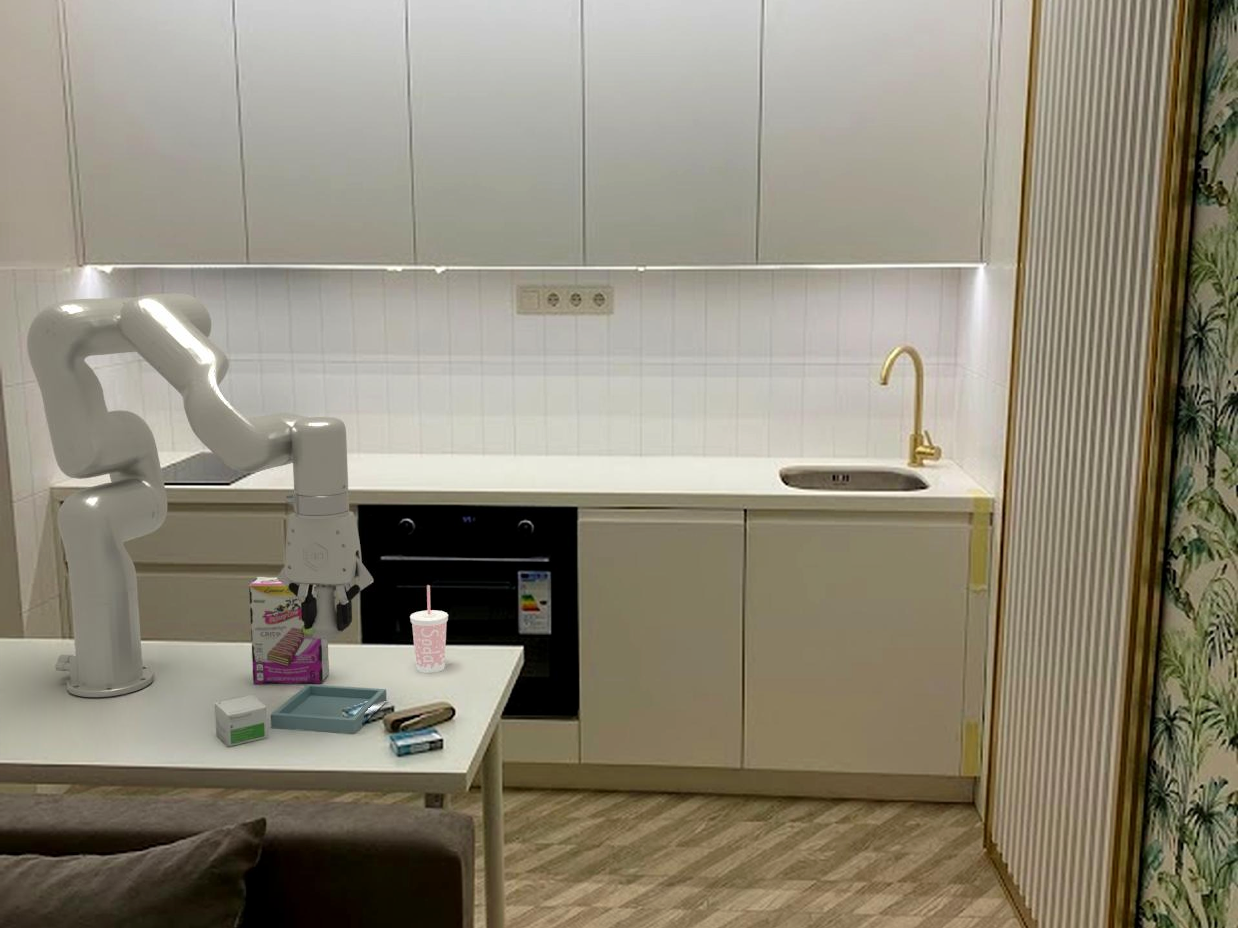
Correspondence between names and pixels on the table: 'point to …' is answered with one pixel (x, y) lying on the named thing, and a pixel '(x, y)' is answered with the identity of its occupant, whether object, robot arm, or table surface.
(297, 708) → the tray
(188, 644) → the table surface
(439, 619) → the beverage cup
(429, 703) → the table surface
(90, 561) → the robot arm
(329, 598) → the rook chess piece
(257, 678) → the candy bar box
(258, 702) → the small box
